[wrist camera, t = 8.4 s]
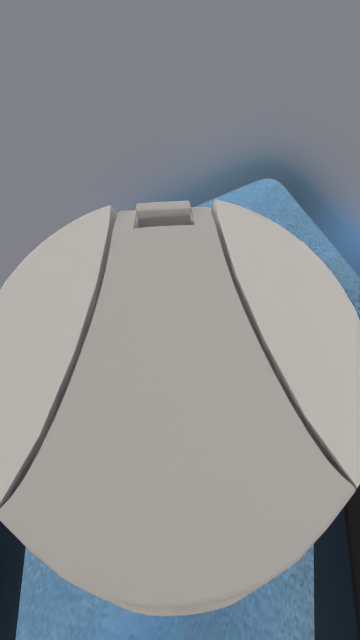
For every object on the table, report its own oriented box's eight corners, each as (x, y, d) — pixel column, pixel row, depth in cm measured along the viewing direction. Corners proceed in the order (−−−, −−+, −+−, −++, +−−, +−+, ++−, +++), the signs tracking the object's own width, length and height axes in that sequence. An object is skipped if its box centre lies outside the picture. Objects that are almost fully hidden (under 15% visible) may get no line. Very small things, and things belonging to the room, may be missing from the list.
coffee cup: (124, 341, 20) (-18, 184, 6) (226, 335, 20) (336, 166, 6) (123, 458, 17) (-157, 722, 3) (240, 450, 17) (518, 667, 3)
